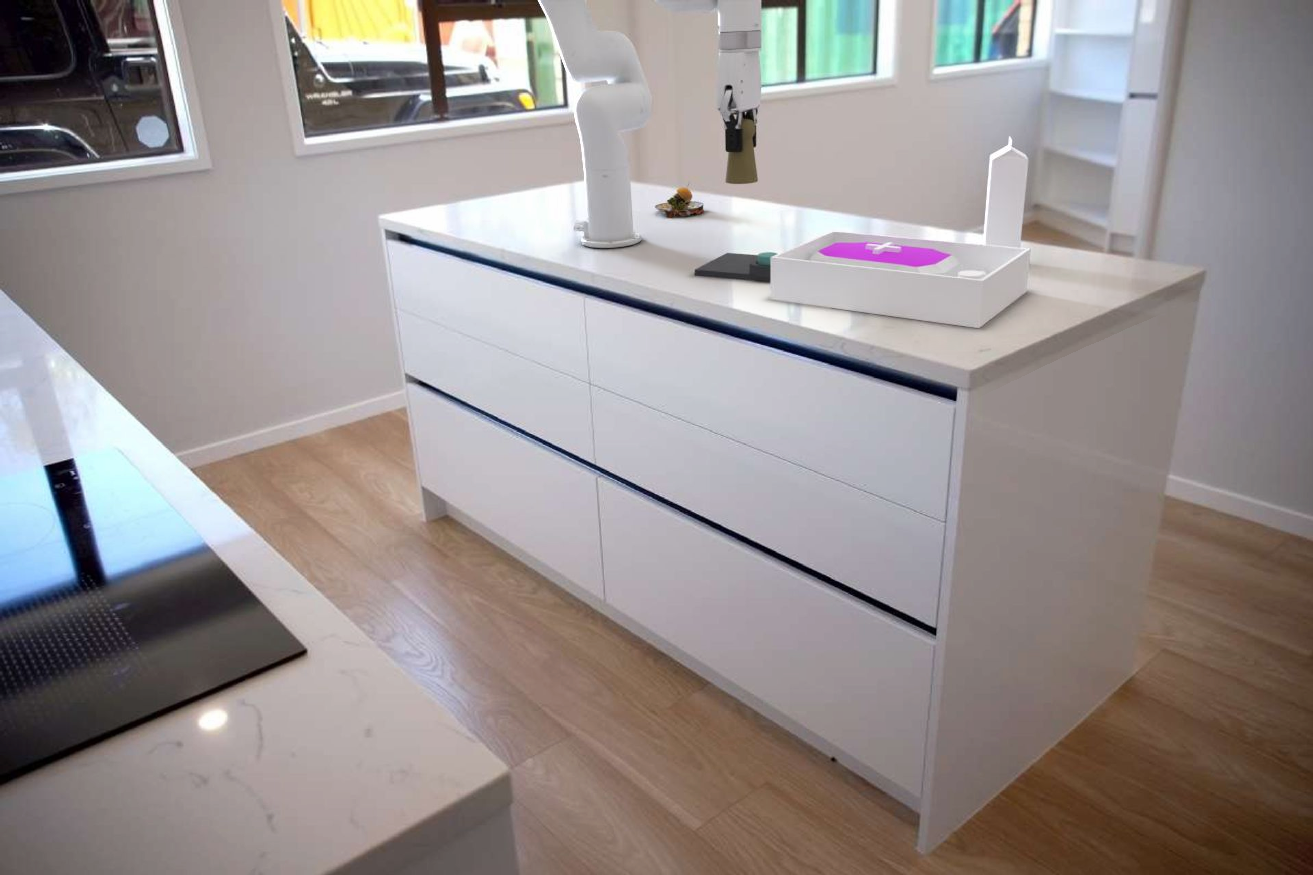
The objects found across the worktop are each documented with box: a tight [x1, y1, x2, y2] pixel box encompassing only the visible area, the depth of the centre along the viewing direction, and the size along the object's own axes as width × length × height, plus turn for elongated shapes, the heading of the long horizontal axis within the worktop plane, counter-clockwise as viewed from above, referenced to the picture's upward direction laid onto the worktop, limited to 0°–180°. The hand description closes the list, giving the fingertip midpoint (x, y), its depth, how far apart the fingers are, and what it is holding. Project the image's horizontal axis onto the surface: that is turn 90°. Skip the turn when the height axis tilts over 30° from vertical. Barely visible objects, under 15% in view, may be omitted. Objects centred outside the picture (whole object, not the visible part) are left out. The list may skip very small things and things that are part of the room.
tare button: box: [757, 251, 778, 265], centre depth 177 cm, size 4×4×2 cm
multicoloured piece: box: [654, 181, 705, 218], centre depth 237 cm, size 12×12×8 cm
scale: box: [693, 252, 771, 283], centre depth 183 cm, size 17×15×3 cm
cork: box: [724, 119, 759, 185], centre depth 181 cm, size 6×6×11 cm
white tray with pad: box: [770, 230, 1032, 329], centre depth 162 cm, size 22×35×7 cm, turn 54°
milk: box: [982, 135, 1030, 248], centre depth 175 cm, size 6×6×22 cm
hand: (741, 148), depth 181 cm, fingers closed on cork, 5 cm apart
